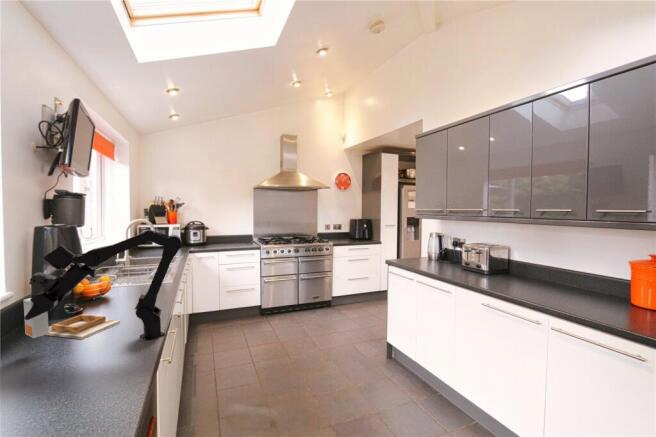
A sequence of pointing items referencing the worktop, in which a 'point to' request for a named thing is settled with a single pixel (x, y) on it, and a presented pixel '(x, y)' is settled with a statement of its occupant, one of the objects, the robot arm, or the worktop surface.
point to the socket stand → (81, 326)
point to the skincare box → (35, 322)
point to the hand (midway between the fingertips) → (30, 315)
